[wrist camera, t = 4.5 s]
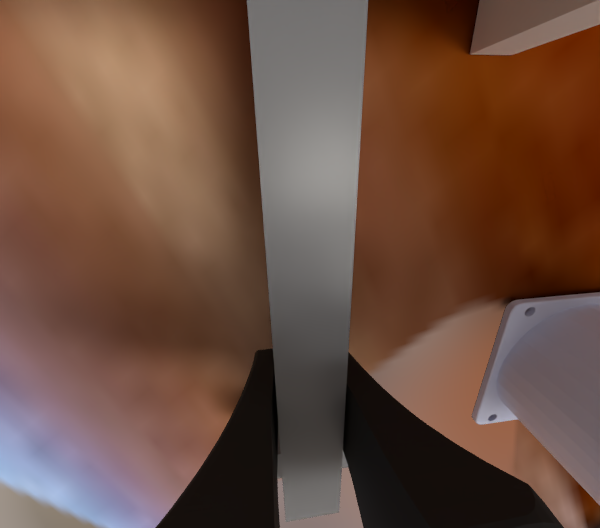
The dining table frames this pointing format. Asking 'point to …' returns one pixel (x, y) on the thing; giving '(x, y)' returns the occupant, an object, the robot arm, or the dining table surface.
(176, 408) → the dining table surface
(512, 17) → the low bench
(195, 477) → the robot arm
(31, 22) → the dining table surface
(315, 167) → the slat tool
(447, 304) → the dining table surface
